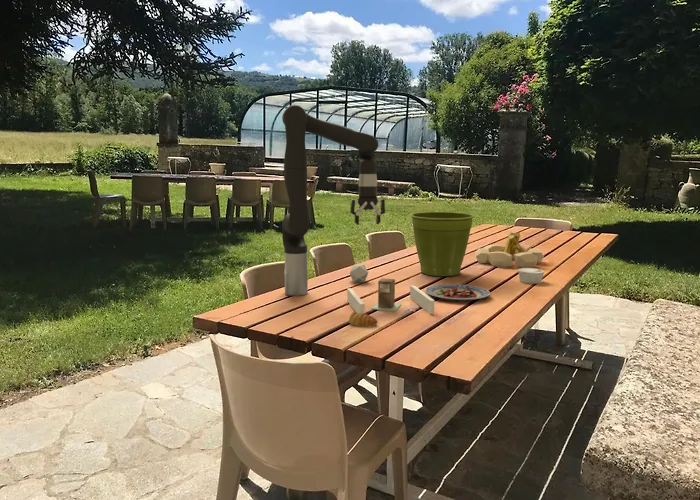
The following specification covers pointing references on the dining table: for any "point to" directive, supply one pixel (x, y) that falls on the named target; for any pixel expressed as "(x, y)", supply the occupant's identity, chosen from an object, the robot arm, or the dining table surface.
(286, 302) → the dining table surface
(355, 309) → the arena
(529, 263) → the campfire
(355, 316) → the pastry
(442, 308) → the dining table surface
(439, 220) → the plant pot
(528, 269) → the ramekin
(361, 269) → the die
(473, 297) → the ceramic plate
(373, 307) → the pad
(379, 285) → the walnut block
